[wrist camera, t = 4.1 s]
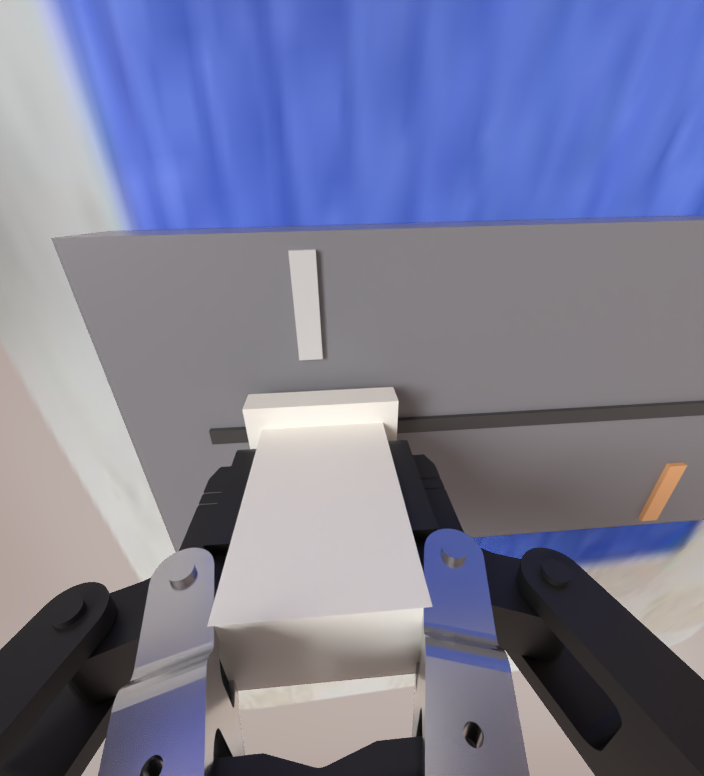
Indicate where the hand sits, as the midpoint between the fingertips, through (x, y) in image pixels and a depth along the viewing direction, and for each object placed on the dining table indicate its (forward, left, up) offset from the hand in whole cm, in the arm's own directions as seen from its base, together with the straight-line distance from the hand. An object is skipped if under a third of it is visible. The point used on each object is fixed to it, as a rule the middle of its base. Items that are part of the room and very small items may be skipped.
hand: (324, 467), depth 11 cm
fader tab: (0, 0, -2) cm, 2 cm away
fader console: (0, +8, -5) cm, 9 cm away
